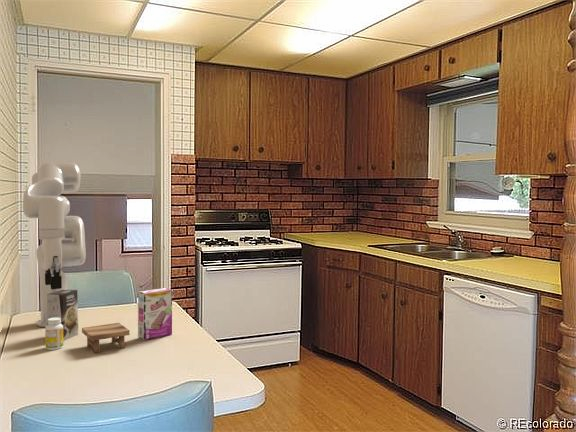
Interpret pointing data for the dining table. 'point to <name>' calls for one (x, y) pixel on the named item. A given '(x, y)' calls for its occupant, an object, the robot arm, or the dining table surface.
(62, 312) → the coffee box
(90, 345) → the stool
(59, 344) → the supplement bottle
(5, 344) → the dining table surface
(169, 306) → the candy bar box
